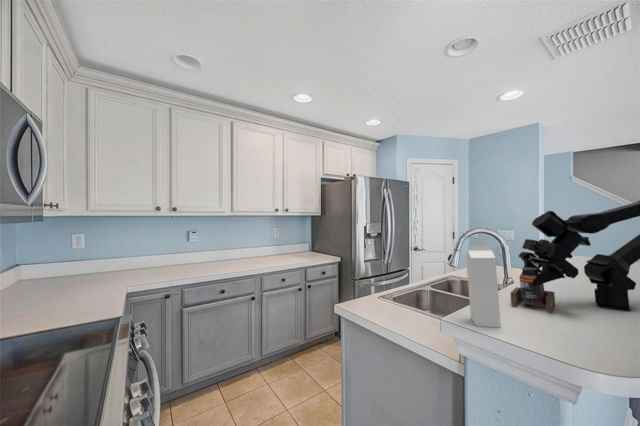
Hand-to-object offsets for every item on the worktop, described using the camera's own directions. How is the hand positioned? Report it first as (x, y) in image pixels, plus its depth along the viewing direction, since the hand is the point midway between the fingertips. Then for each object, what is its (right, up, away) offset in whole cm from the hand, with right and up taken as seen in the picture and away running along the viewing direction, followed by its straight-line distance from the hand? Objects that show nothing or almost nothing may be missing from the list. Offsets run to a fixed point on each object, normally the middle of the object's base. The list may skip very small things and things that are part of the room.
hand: (526, 282), depth 83 cm
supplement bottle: (+2, -7, 0) cm, 7 cm away
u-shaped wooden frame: (+2, -8, 0) cm, 8 cm away
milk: (-20, -9, -11) cm, 25 cm away
